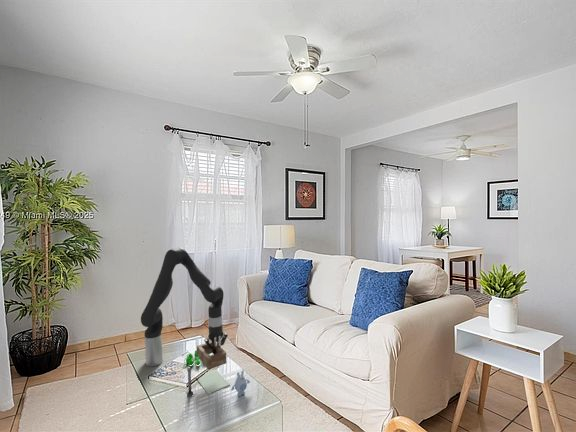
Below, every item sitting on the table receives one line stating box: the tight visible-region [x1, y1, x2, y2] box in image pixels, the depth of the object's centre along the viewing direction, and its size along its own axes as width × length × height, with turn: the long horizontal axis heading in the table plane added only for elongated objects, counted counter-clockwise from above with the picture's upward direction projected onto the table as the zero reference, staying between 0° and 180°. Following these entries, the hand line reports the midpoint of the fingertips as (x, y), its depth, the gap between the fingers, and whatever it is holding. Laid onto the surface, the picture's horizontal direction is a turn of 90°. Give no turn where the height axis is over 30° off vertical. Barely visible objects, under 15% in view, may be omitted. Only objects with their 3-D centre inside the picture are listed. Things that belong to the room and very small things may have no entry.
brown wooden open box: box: [196, 341, 227, 370], centre depth 170 cm, size 16×10×6 cm, turn 37°
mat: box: [197, 368, 230, 395], centre depth 171 cm, size 18×12×1 cm, turn 36°
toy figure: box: [231, 370, 251, 397], centre depth 160 cm, size 11×6×12 cm, turn 127°
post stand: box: [186, 366, 194, 398], centre depth 159 cm, size 3×3×14 cm
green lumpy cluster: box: [183, 349, 201, 367], centre depth 191 cm, size 15×15×7 cm
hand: (216, 353), depth 175 cm, fingers closed on brown wooden open box
